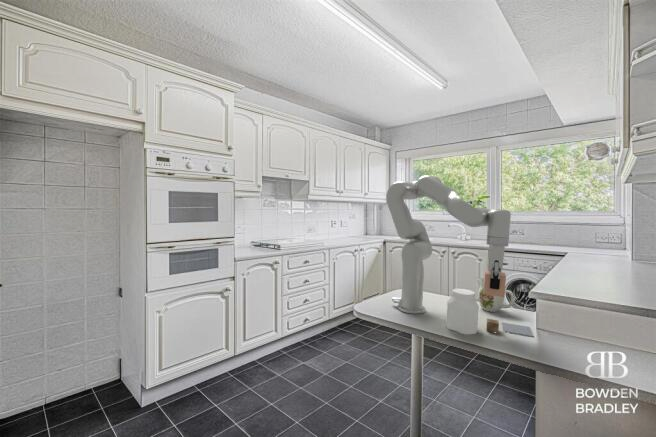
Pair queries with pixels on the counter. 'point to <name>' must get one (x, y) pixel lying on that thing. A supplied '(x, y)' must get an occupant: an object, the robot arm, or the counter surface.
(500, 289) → the salmon pink block
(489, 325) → the block
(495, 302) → the pitcher
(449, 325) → the jar
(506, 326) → the mat
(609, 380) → the counter surface
